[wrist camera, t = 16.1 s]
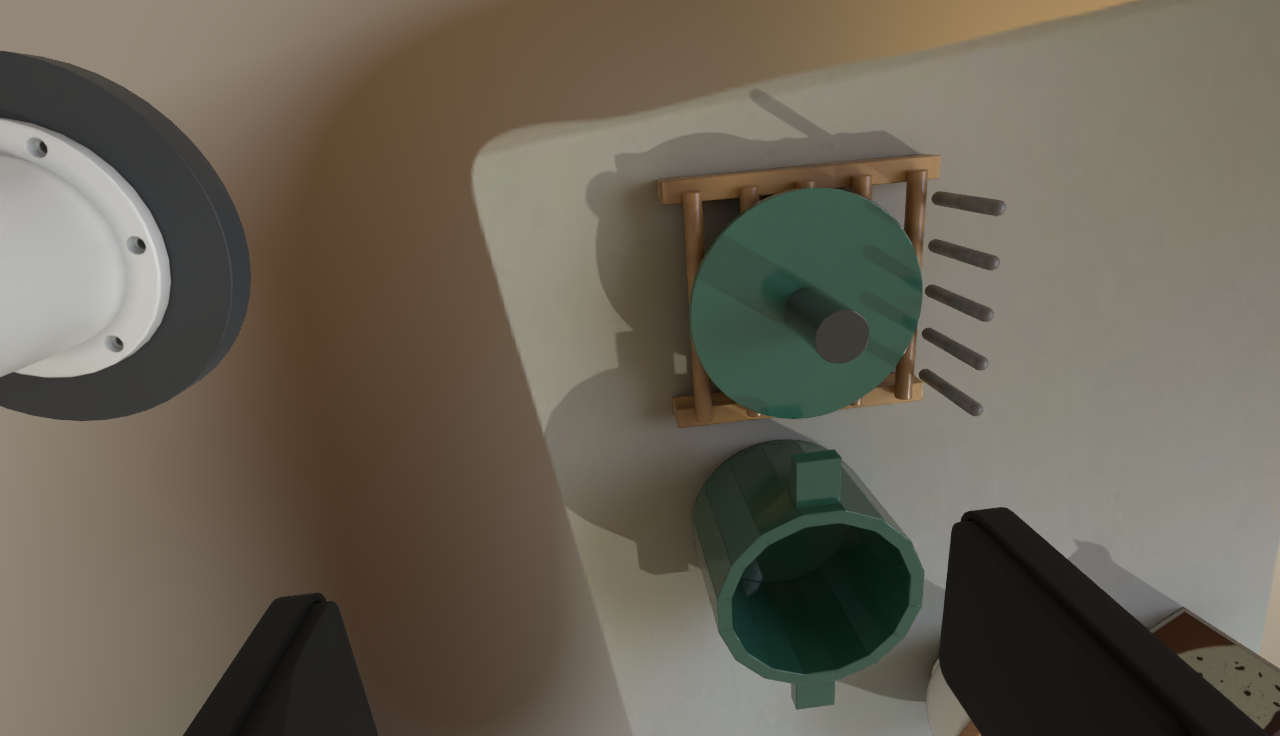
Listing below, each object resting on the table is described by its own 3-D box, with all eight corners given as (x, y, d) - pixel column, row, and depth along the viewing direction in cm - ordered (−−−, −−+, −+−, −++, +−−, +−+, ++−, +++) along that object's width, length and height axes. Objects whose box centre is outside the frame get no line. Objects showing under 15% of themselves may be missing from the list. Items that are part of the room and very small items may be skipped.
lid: (693, 422, 37) (713, 473, 31) (679, 198, 32) (700, 210, 27) (905, 397, 37) (962, 443, 32) (919, 175, 33) (989, 182, 27)
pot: (699, 627, 46) (723, 730, 38) (684, 411, 40) (710, 480, 32) (856, 606, 46) (913, 704, 38) (865, 391, 40) (935, 453, 32)
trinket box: (1009, 589, 47) (1108, 694, 38) (1052, 680, 50) (1152, 794, 42) (880, 657, 48) (947, 773, 39) (931, 741, 52) (1003, 864, 43)
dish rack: (673, 414, 40) (696, 482, 32) (656, 179, 35) (678, 191, 27) (906, 388, 40) (984, 448, 33) (922, 154, 35) (1018, 158, 28)
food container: (1097, 725, 53) (1209, 852, 43) (1063, 686, 51) (1173, 810, 41) (1231, 639, 51) (1378, 753, 41) (1201, 595, 49) (1348, 704, 39)
